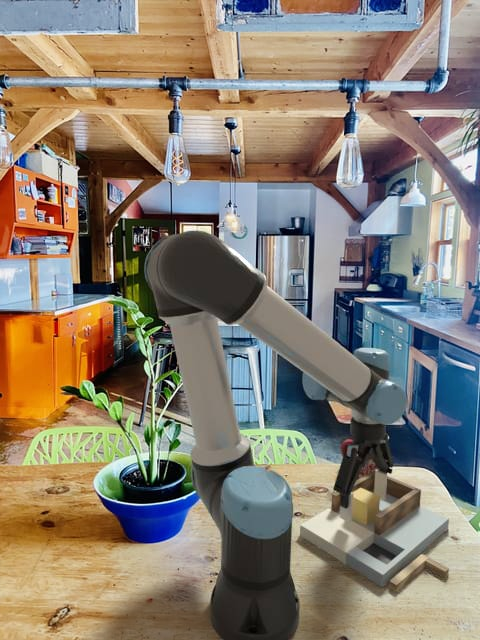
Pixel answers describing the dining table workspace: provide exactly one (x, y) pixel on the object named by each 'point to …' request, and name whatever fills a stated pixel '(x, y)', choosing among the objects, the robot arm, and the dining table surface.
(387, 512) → the cubby
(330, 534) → the board
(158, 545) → the dining table surface
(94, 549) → the dining table surface
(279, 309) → the robot arm
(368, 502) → the block
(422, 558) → the crook tool
